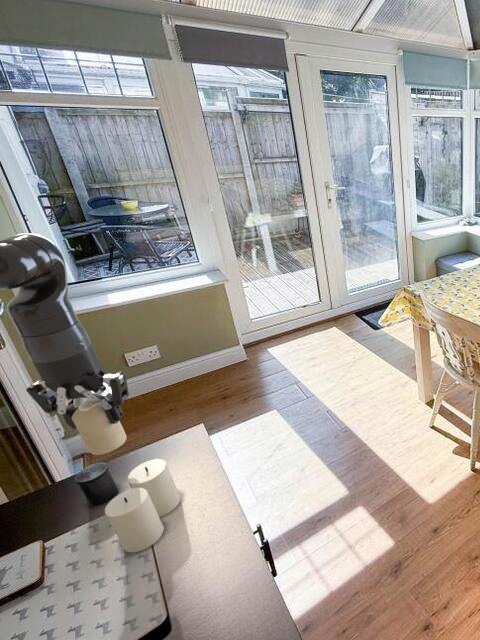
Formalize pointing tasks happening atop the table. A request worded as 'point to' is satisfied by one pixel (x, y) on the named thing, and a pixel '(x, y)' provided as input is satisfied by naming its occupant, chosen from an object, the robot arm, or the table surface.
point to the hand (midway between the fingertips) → (97, 422)
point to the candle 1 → (97, 428)
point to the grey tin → (97, 483)
